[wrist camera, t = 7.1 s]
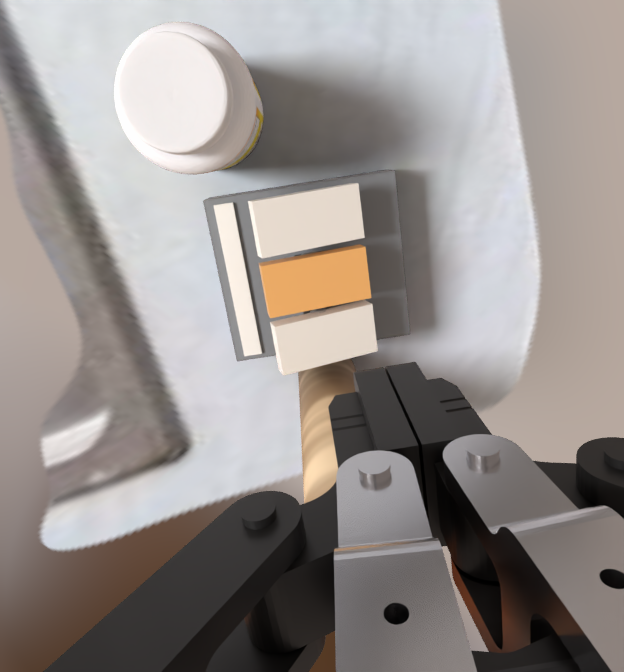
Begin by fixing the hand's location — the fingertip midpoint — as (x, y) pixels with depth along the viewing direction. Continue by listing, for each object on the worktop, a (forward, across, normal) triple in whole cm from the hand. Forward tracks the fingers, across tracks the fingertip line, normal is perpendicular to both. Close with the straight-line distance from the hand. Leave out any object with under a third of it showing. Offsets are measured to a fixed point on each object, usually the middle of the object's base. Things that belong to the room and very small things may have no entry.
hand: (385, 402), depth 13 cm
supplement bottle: (+20, +5, -8) cm, 22 cm away
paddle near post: (+14, +1, +3) cm, 15 cm away
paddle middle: (+15, +1, 0) cm, 15 cm away
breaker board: (+19, +1, 0) cm, 19 cm away
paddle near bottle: (+15, +1, -3) cm, 15 cm away
